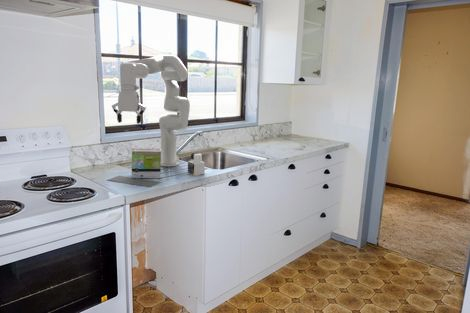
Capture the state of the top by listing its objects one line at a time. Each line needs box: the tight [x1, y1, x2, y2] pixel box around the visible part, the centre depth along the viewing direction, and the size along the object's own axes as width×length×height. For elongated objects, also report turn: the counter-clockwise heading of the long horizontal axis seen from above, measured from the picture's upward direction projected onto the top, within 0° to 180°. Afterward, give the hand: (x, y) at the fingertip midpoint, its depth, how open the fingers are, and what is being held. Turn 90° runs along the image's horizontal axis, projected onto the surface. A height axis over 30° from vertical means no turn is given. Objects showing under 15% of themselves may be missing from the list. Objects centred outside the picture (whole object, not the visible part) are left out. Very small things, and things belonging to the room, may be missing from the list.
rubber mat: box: [106, 175, 162, 188], centre depth 189 cm, size 10×26×1 cm, turn 70°
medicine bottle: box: [187, 152, 206, 176], centre depth 208 cm, size 7×7×12 cm
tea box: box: [131, 147, 162, 179], centre depth 198 cm, size 15×10×15 cm, turn 106°
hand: (129, 122), depth 185 cm, fingers open, 9 cm apart
